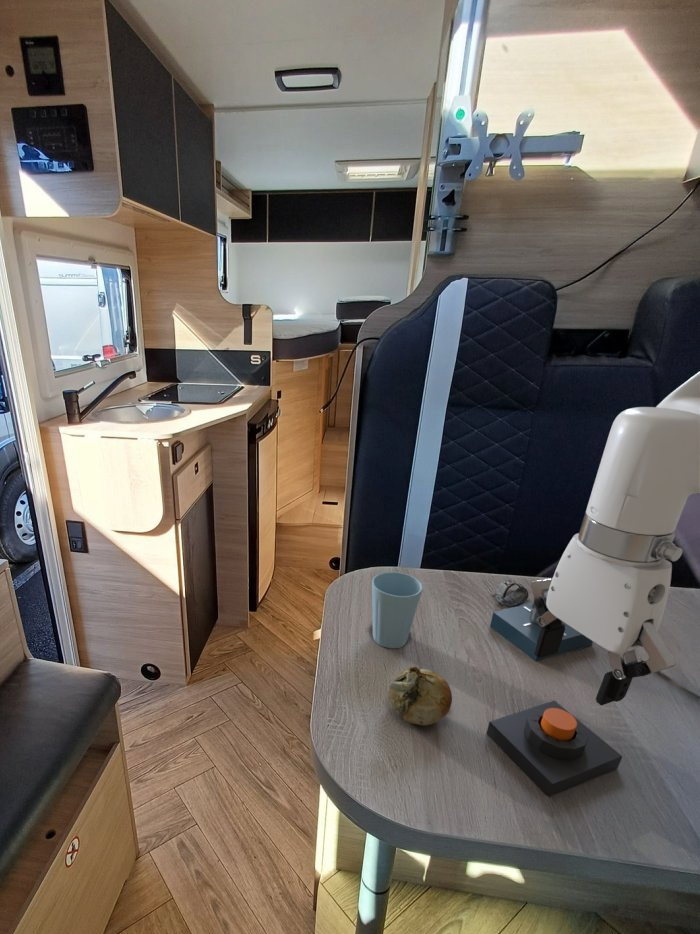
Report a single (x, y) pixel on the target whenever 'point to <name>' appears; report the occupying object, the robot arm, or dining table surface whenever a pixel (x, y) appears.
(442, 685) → the onion
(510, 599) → the wristwatch
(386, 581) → the cup
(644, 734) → the dining table surface
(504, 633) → the dial panel
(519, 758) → the button base
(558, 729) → the button
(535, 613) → the temp dial
